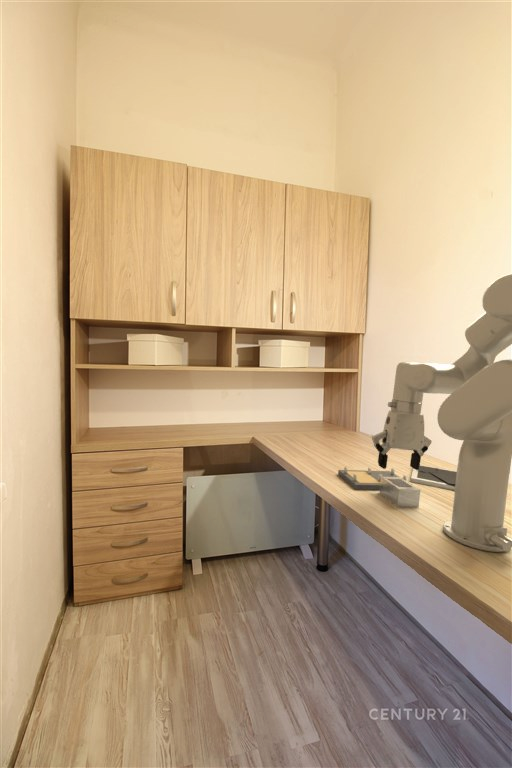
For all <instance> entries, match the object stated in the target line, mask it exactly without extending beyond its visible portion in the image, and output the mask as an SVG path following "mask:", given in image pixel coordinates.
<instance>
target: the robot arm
mask: <svg viewBox="0 0 512 768" xmlns="http://www.w3.org/2000/svg"><path fill="white" fill-rule="evenodd" d="M481 304H482V308H483V310H484V313H483V314H481V315H479V317H478V318H477V319H476V320H475V321H473V322H472V323H471V324H470V325H468V326H467V328H466V329H465V331H464V336H465V340H466V341H467V342H468V343H467V344H468V345H469V347H468V350H467V351H466V352H465V353H464V354H463V355H462V356H460V358H458V359H457V360H455V361H454V362H453V363H451V364H445V363H444V364H443V363H432V362H431V363H429V362H426V363H425V362H423V363H421V362H420V363H419V362H407V361H401V362H398V364H397V365H396V368H395V377H394V385H393V393H392V399H391V401H388V402H387V407H389V408H390V410H388V412H387V415H386V418H385V421H384V425H383V429H382V430H383V431H381V432H379V433H377V434H375V435H373V436H371V441H372V443H373V446H374V447H375V448H376V450H377V452H378V456H377V457H378V458H377V463H378V466H379V467H380V468H381V469H383V470H384V469H387V467H388V466H387V465H388V459H389V456H388V454H387V453H389V451H390V450H399V451H401V450H402V451H403V450H405V451H413V452H411V455H410V463H409V464H410V465H409V467H410V468H412V469H413V468H414V469H415V470H419V466H420V465H421V459H422V458H421V457H423V456H424V454H425V453H426V452H427V451H428V449H429V447H430V446H431V444H432V443H433V441H432V440H431V439H430V438H429V437H427V436H426V435H425V419H424V414H423V413H422V406H423V400H424V399H423V397H424V394H434V395H435V394H437V395H438V394H440V395H441V394H443V395H449V396H448V397H447V398H445V400H444V401H443V402H442V403H441V405H440V407H439V409H438V411H437V418H436V419H437V424H438V427H439V428H440V430H441V431H442V433H444V434H445V435H446V436H447V437H449V438H451V439H454V440H458V441H462V444H461V446H460V450H459V453H458V454H459V455H458V459H457V461H458V462H457V466H456V467H457V468H456V471H457V476H456V485H455V491H454V494H453V495H454V497H453V506H452V514H451V519H449V520H446V521H445V522H444V523H443V525H442V529H443V531H444V533H445V534H446V535H447V536H448V537H449V538H451V539H452V540H454V541H456V542H458V543H460V544H463V545H464V546H468V547H471V548H473V549H477V550H481V551H485V552H494V553H503V552H505V553H507V552H509V551H511V549H512V538H510V537H508V536H507V533H508V527H506V526H504V522H505V514H506V513H505V512H506V503H507V497H508V489H509V479H510V473H511V466H512V465H511V464H512V359H503V360H502V359H501V360H498V361H495V359H496V357H497V356H498V355H499V354H500V353H502V352H503V351H504V350H506V349H507V348H508V347H510V346H511V345H512V273H509V274H506V275H503V276H501V277H498V278H497V279H495V280H494V281H492V282H491V283H490V284H489V285H488V286H487V287H486V290H485V291H484V292H483V295H482V299H481ZM380 440H381V442H382V444H380Z"/></svg>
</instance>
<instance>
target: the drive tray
mask: <svg viewBox="0 0 512 768" xmlns="http://www.w3.org/2000/svg"><path fill="white" fill-rule="evenodd" d="M343 468H344V469H338V472H337V475H338V476H339V477H340V478H342V479H343V480H344V481H345V482H346V483H347V484H348V485H350V486H351V487H352V488H353V489H355V491H379V490H380V480H381V477H400V476H398V475H397V474H395V471H396V470H395V469H396V468H394V467H392V468H391V469H390V470H391V471H390V470H372V467H370V466H369V467H367V470H362V469H361V470H357V469H356V470H355V469H354V470H353V469H352V470H351V469H348V466H344V467H343ZM407 477H408V475H406V474H403V475H402V479H404V480H405V481H407Z"/></svg>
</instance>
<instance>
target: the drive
mask: <svg viewBox="0 0 512 768" xmlns="http://www.w3.org/2000/svg"><path fill="white" fill-rule="evenodd" d="M378 491H379V492H378V493H379V494H380V493H381V494H382V495H381V494H380V495H381V496H383V498H385V497H386V498H387V500H388V501H389V502H390V501H391V502H390V503H391V504H393V505H394V504H395V505H396V506H395V505H394V506H395V507H397V508H419V507H420V497H421V489H420V488H418V487H416V486H415V485H413V484H412V483H411V482H408V481H407V480H406V481H405V480H404V479H403V477H400V476H399V477H381V480H380V490H378ZM386 498H385V499H386Z"/></svg>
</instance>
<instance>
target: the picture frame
mask: <svg viewBox="0 0 512 768" xmlns="http://www.w3.org/2000/svg"><path fill="white" fill-rule="evenodd" d="M456 476H457V470H454V469H453V470H452V469H447V468H443V467H436V466H430V465H424V464H420V466H419V470H415V469H414V468H412V471H411V476H410V483H415V484H420V485H425V486H430V487H434V488H440V489H444V490H450V491H454V492H455V485H456Z"/></svg>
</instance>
